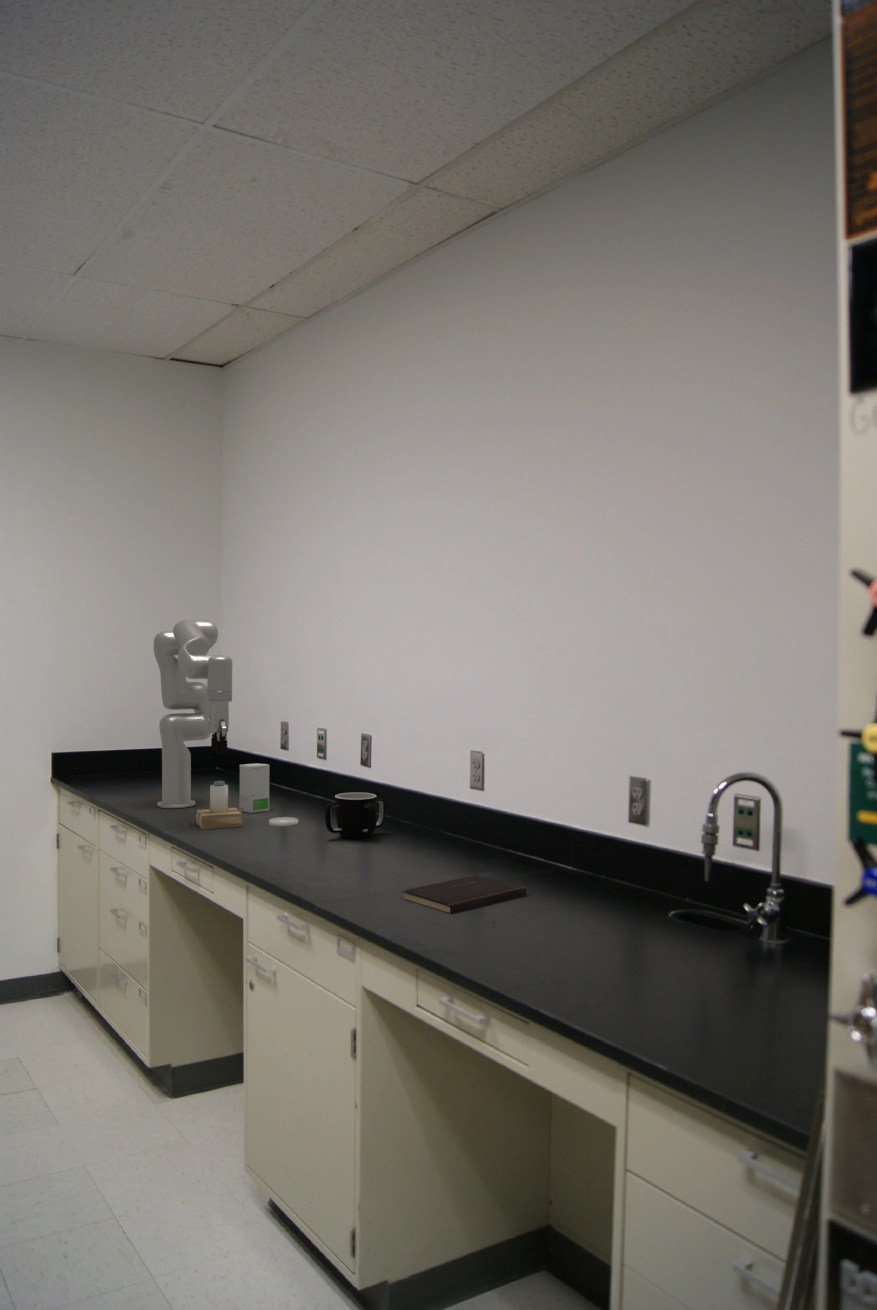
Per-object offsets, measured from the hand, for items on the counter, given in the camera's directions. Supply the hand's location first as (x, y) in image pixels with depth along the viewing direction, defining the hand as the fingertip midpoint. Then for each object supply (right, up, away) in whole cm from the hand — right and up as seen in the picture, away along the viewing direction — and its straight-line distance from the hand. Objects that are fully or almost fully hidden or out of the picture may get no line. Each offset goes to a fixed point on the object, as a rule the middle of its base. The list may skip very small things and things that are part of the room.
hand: (219, 751), depth 299 cm
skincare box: (+6, -22, +25) cm, 34 cm away
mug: (+44, -23, -17) cm, 52 cm away
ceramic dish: (+20, -23, +3) cm, 30 cm away
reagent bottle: (0, -18, 0) cm, 18 cm away
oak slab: (0, -22, 0) cm, 22 cm away
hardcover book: (+74, -25, -83) cm, 114 cm away
